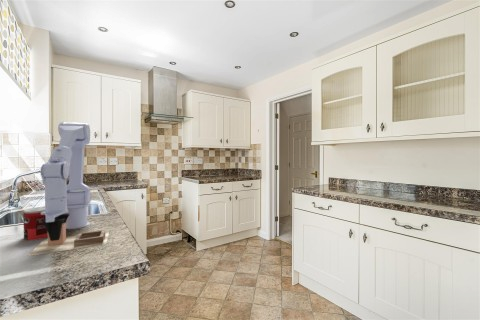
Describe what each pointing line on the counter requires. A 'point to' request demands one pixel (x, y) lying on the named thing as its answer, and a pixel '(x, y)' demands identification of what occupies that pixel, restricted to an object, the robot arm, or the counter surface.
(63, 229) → the block
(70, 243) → the board
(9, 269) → the counter surface
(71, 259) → the counter surface
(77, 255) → the counter surface
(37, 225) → the canned food
